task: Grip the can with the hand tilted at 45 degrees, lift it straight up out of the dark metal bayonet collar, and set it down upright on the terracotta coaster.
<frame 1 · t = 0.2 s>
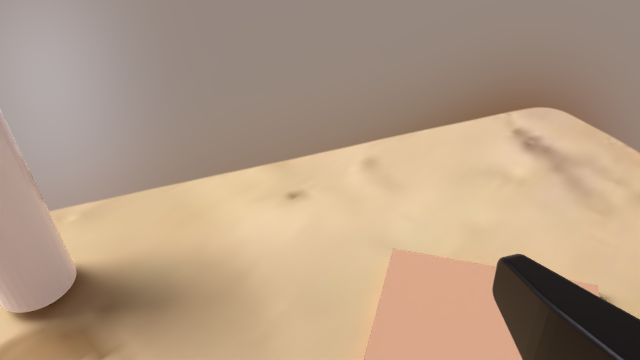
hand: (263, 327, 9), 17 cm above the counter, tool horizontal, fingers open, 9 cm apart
perfume bottle: (43, 293, 32), on the counter
coaster: (483, 356, 27), on the counter
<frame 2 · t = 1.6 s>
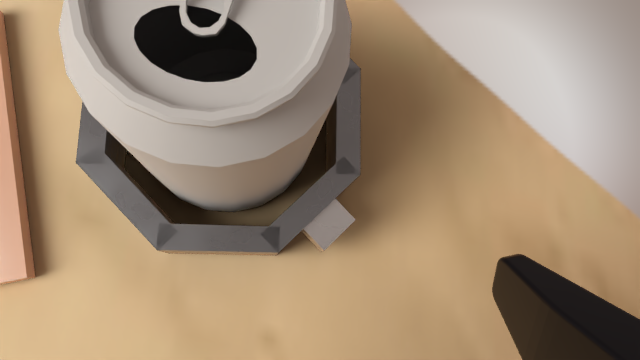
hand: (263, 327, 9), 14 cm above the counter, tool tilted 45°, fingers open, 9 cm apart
collar: (229, 133, 23), on the counter
can: (229, 134, 23), resting in collar
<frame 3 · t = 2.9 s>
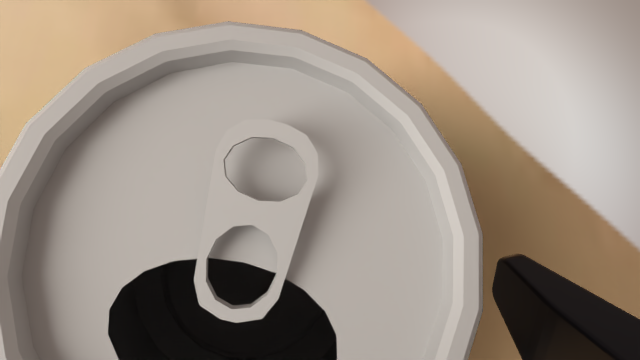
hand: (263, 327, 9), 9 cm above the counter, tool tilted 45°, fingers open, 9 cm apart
can: (249, 269, 18), resting in collar
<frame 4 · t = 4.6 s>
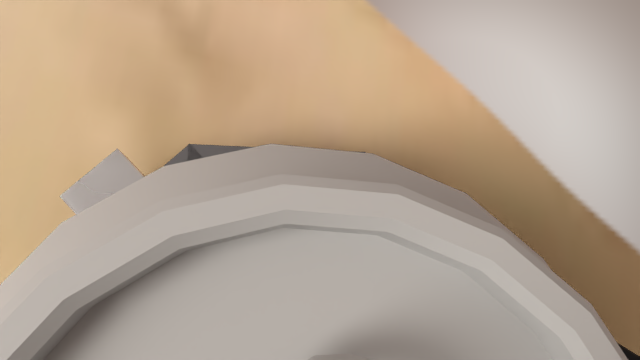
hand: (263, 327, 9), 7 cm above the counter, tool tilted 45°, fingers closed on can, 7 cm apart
collar: (268, 351, 15), on the counter
can: (268, 350, 15), resting in collar, touching gripper
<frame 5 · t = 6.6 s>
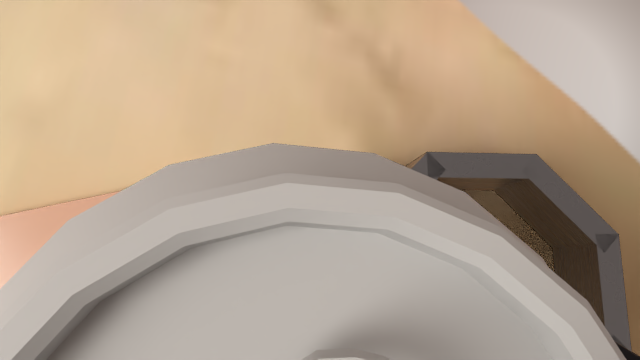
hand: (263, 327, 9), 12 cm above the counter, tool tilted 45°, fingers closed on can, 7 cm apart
collar: (460, 291, 22), on the counter
coaster: (100, 353, 20), on the counter
can: (269, 348, 15), point 5 cm above the counter, touching gripper
when the fingers open (9 cm above the counter, at t = 8.9 s): can drops 1 cm, resting on coaster.
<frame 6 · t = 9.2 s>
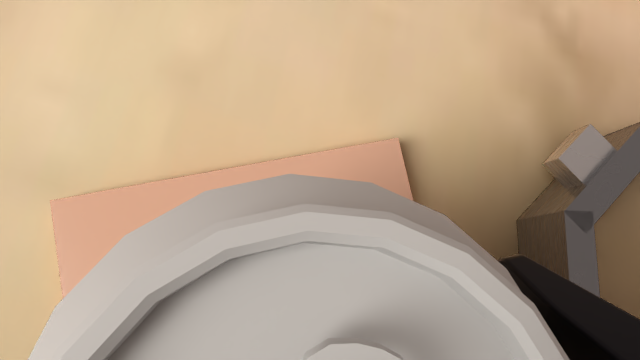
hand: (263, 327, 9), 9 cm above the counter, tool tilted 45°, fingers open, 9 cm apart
coaster: (266, 340, 17), on the counter
can: (269, 348, 17), point 1 cm above the counter, touching coaster
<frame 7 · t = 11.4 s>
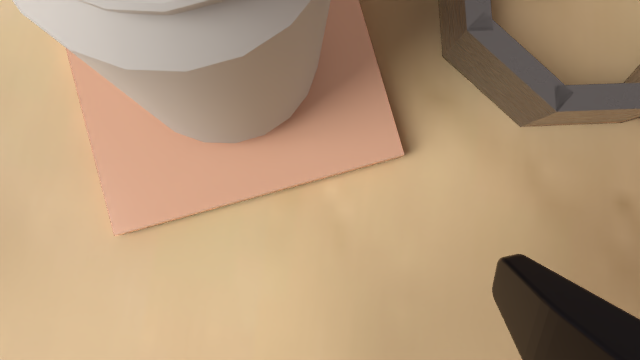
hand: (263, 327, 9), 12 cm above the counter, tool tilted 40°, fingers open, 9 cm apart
collar: (559, 3, 22), on the counter
coaster: (226, 58, 21), on the counter
can: (226, 57, 21), point 1 cm above the counter, touching coaster
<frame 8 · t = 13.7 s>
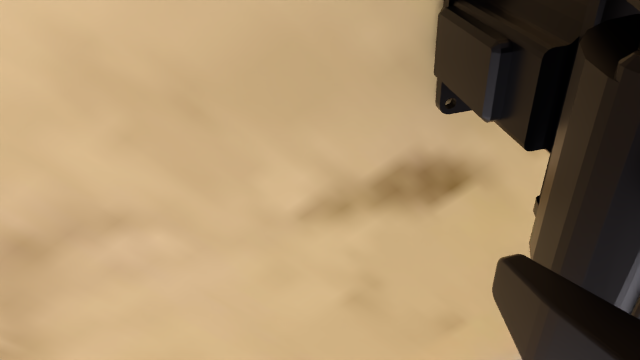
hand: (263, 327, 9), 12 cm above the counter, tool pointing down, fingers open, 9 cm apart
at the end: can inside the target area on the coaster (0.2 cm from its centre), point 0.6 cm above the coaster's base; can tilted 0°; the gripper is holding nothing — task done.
